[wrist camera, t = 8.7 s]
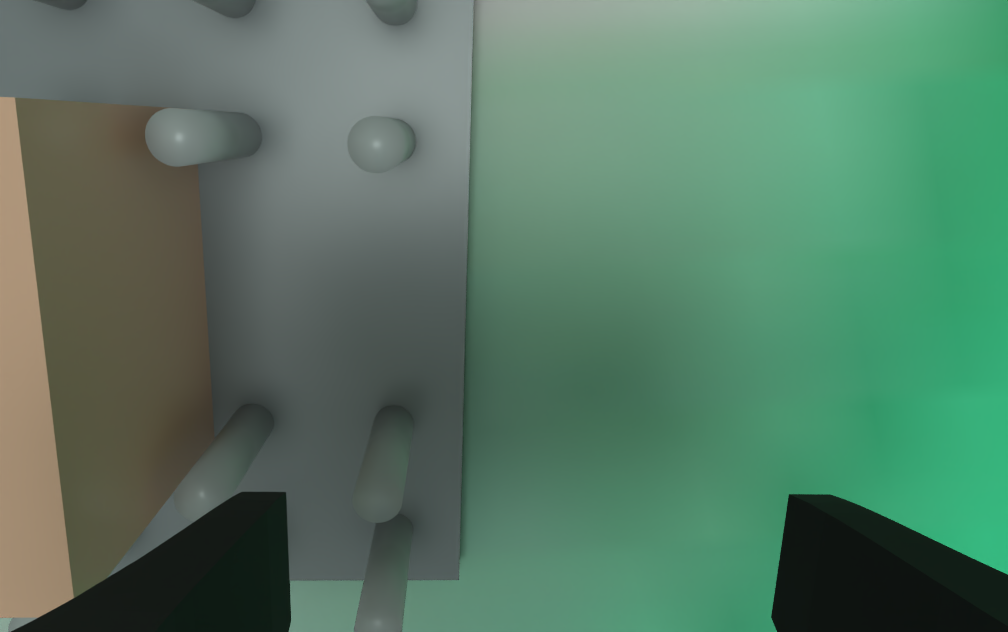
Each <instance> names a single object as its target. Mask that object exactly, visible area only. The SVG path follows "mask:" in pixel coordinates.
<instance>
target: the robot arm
mask: <svg viewBox="0 0 1008 632" xmlns="http://www.w3.org/2000/svg"><path fill="white" fill-rule="evenodd" d="M771 618H772V620H773V623H774V625H775V627H776V630H777V632H1008V575H1007V574H1005V573H1003V572H1001V571H998V570H996V569H994V568H992V567H990V566H988V565H985V564H983V563H981V562H979V561H977V560H975V559H972V558H970V557H968V556H966V555H964V554H962V553H960V552H958V551H956V550H953V549H951V548H949V547H947V546H945V545H943V544H941V543H939V542H937V541H935V540H932V539H930V538H928V537H926V536H924V535H922V534H920V533H918V532H916V531H914V530H912V529H910V528H907V527H905V526H903V525H901V524H899V523H897V522H895V521H893V520H891V519H888V518H886V517H884V516H882V515H880V514H878V513H875V512H873V511H871V510H869V509H866V508H864V507H862V506H860V505H857V504H855V503H852V502H850V501H847V500H844V499H842V498H839V497H836V496H833V495H806V494H789V498H788V505H787V512H786V519H785V526H784V533H783V540H782V547H781V554H780V560H779V567H778V574H777V581H776V588H775V595H774V602H773V609H772V616H771ZM290 623H291V605H290V579H289V553H288V526H287V500H286V492H240V493H238V494H236V495H234V496H233V497H231V498H229V499H228V500H226V501H225V502H223V503H222V504H220V505H218V506H217V507H215V508H214V509H212V510H211V511H209V512H208V513H207V514H205V515H204V516H202V517H201V518H199V519H198V520H196V521H195V522H193V523H192V524H190V525H189V526H187V527H186V528H184V529H183V530H181V531H180V532H178V533H177V534H175V535H174V536H172V537H171V538H169V539H168V540H166V541H165V542H163V543H162V544H160V545H159V546H157V547H156V548H154V549H153V550H151V551H150V552H148V553H147V554H145V555H144V556H142V557H141V558H139V559H138V560H136V561H134V562H133V563H131V564H129V565H128V566H126V567H124V568H123V569H121V570H119V571H118V572H116V573H115V574H113V575H111V576H110V577H108V578H106V579H105V580H103V581H101V582H100V583H98V584H96V585H95V586H93V587H91V588H90V589H88V590H86V591H85V592H83V593H81V594H80V595H78V596H77V597H75V598H73V599H71V600H70V601H68V602H66V603H64V604H62V605H61V606H59V607H57V608H55V609H53V610H52V611H50V612H48V613H46V614H44V615H42V616H40V617H38V618H37V619H35V620H33V621H31V622H29V623H27V624H25V625H23V626H21V627H19V628H17V629H15V630H13V631H11V632H289V627H290Z"/></svg>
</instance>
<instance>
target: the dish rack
mask: <svg viewBox="0 0 1008 632" xmlns="http://www.w3.org/2000/svg"><path fill="white" fill-rule="evenodd" d="M473 7H474V0H0V97H15V98H30V99H45V100H61V101H76V102H91V103H106V104H121V105H136V106H151V107H166V108H167V109H163V110H160V111H158V112H156V113H155V114H154V115H153V116H152V117H151V118H150V119H149V121H148V123H147V125H146V129H145V140H146V144H147V146H148V148H149V150H150V152H151V153H152V155H153V156H154V157H155V158H156V159H158V160H159V161H160V162H162V163H164V164H166V165H169V166H175V167H180V166H187V165H194V164H198V177H199V193H200V210H201V226H202V242H203V259H204V275H205V291H206V307H207V324H208V340H209V356H210V373H211V389H212V405H213V422H214V438H215V439H214V440H213V441H212V443H211V444H210V445H209V447H208V448H207V449H206V450H205V452H204V453H203V454H202V456H201V457H200V458H199V459H198V461H197V462H196V463H195V465H194V466H193V467H192V468H191V470H190V471H189V472H188V474H187V475H186V476H185V477H184V479H183V480H182V481H181V483H180V484H179V485H178V486H177V488H176V490H175V491H174V492H173V493H172V495H171V496H170V497H169V499H168V500H167V501H166V502H165V504H164V505H163V506H162V508H161V509H160V510H159V511H158V513H157V514H156V515H155V517H154V518H153V519H152V520H151V522H150V523H149V524H148V526H147V527H146V528H145V529H144V531H143V532H142V533H141V535H140V536H139V537H138V538H137V540H136V541H135V542H134V544H133V545H132V546H131V547H130V549H129V550H128V551H127V553H126V554H125V555H124V556H123V558H122V559H121V560H120V562H119V563H118V564H117V565H116V567H115V568H114V569H113V571H112V572H111V573H110V574H109V576H108V577H110V576H111V575H113V574H115V573H116V572H118V571H119V570H121V569H123V568H124V567H126V566H128V565H129V564H131V563H133V562H134V561H136V560H138V559H139V558H141V557H142V556H144V555H145V554H147V553H148V552H150V551H151V550H153V549H154V548H156V547H157V546H159V545H160V544H162V543H163V542H165V541H166V540H168V539H169V538H171V537H172V536H174V535H175V534H177V533H178V532H180V531H181V530H183V529H184V528H186V527H187V526H189V525H190V524H192V523H193V522H195V521H196V520H198V519H199V518H201V517H202V516H204V515H205V514H207V513H208V512H209V511H211V510H212V509H214V508H215V507H217V506H218V505H220V504H222V503H223V502H225V501H226V500H228V499H229V498H231V497H233V496H234V495H236V494H238V493H240V492H286V500H287V526H288V553H289V579H290V580H364V583H363V587H362V592H361V597H360V602H359V607H358V612H357V616H356V621H355V626H354V632H402V624H403V615H404V606H405V597H406V588H407V580H459V559H460V520H461V480H462V441H463V402H464V362H465V323H466V283H467V244H468V204H469V165H470V125H471V86H472V47H473ZM179 108H182V109H179ZM108 577H107V578H108ZM35 619H37V618H13V619H12V620H11V621H10V624H9V629H8V630H9V632H11V631H13V630H15V629H17V628H19V627H21V626H23V625H25V624H27V623H29V622H31V621H33V620H35Z"/></svg>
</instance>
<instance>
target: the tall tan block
mask: <svg viewBox="0 0 1008 632" xmlns="http://www.w3.org/2000/svg"><path fill="white" fill-rule="evenodd" d="M163 109H167V108H166V107H151V106H136V105H121V104H106V103H91V102H76V101H61V100H45V99H30V98H15V97H0V618H38V617H40V616H42V615H44V614H46V613H48V612H50V611H52V610H53V609H55V608H57V607H59V606H61V605H62V604H64V603H66V602H68V601H70V600H71V599H73V598H75V597H77V596H78V595H80V594H81V593H83V592H85V591H86V590H88V589H90V588H91V587H93V586H95V585H96V584H98V583H100V582H101V581H103V580H105V579H106V578H107V577H108V576H109V574H110V573H111V572H112V571H113V569H114V568H115V567H116V565H117V564H118V563H119V562H120V560H121V559H122V558H123V556H124V555H125V554H126V553H127V551H128V550H129V549H130V547H131V546H132V545H133V544H134V542H135V541H136V540H137V538H138V537H139V536H140V535H141V533H142V532H143V531H144V529H145V528H146V527H147V526H148V524H149V523H150V522H151V520H152V519H153V518H154V517H155V515H156V514H157V513H158V511H159V510H160V509H161V508H162V506H163V505H164V504H165V502H166V501H167V500H168V499H169V497H170V496H171V495H172V493H173V492H174V491H175V490H176V488H177V486H178V485H179V484H180V483H181V481H182V480H183V479H184V477H185V476H186V475H187V474H188V472H189V471H190V470H191V468H192V467H193V466H194V465H195V463H196V462H197V461H198V459H199V458H200V457H201V456H202V454H203V453H204V452H205V450H206V449H207V448H208V447H209V445H210V444H211V443H212V441H213V440H214V439H215V438H214V422H213V405H212V389H211V373H210V356H209V340H208V324H207V307H206V291H205V275H204V259H203V242H202V226H201V210H200V193H199V177H198V164H194V165H187V166H180V167H175V166H169V165H166V164H164V163H162V162H160V161H159V160H158V159H156V158H155V157H154V156H153V155H152V153H151V152H150V150H149V148H148V146H147V144H146V140H145V129H146V125H147V123H148V121H149V119H150V118H151V117H152V116H153V115H154V114H155V113H156V112H158V111H160V110H163ZM179 109H182V108H179Z"/></svg>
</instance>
